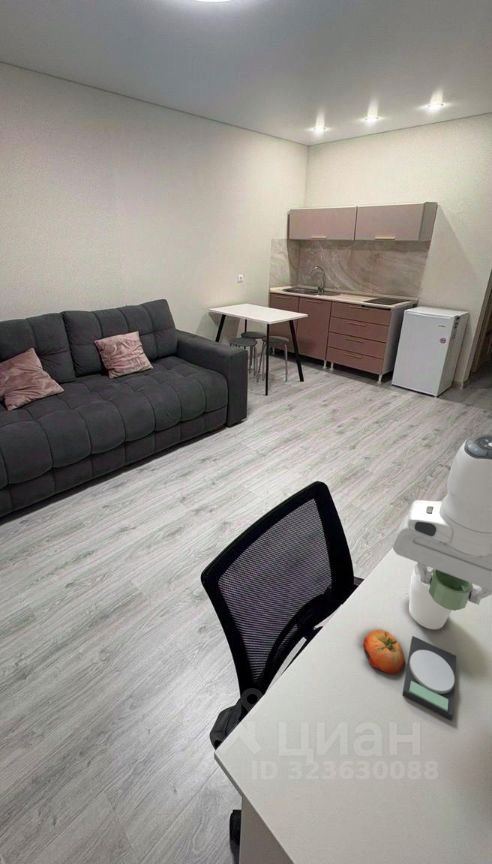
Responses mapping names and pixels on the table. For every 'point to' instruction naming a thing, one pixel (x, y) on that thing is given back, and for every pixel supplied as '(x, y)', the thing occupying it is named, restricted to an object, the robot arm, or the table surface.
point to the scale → (430, 677)
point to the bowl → (449, 590)
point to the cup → (425, 603)
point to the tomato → (384, 651)
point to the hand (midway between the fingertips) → (448, 590)
